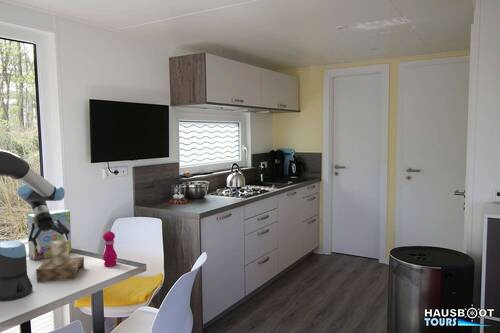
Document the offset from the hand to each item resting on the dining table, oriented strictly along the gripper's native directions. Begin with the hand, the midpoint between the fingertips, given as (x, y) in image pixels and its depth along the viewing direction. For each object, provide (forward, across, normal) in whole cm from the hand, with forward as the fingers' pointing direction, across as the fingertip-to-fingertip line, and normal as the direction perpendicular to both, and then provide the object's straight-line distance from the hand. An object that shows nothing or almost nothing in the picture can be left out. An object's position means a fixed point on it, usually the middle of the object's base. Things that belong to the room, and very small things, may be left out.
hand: (53, 247), depth 205 cm
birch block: (+11, 0, +3) cm, 11 cm away
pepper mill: (+19, -24, +2) cm, 30 cm away
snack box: (-12, -7, -29) cm, 32 cm away
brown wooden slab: (+15, 0, -1) cm, 15 cm away
